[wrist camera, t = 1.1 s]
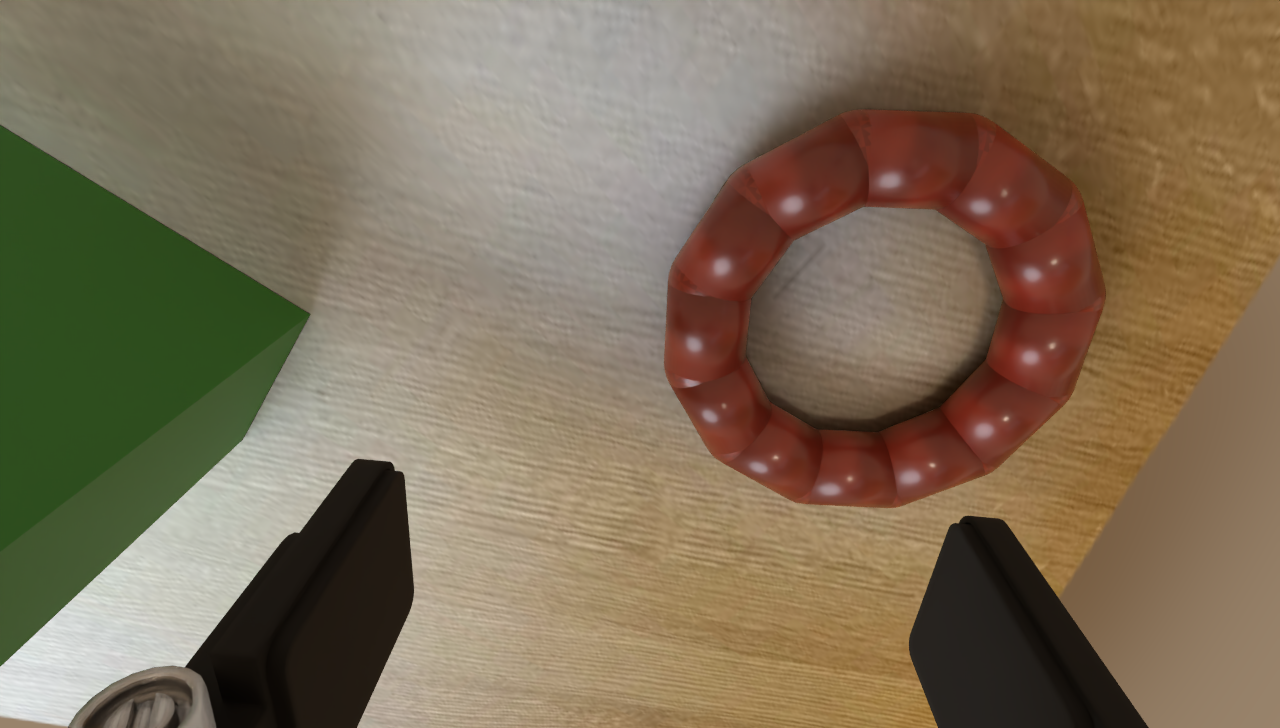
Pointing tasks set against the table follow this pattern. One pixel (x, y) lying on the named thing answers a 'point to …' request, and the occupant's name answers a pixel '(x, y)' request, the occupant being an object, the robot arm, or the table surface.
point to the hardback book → (110, 377)
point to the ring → (895, 178)
